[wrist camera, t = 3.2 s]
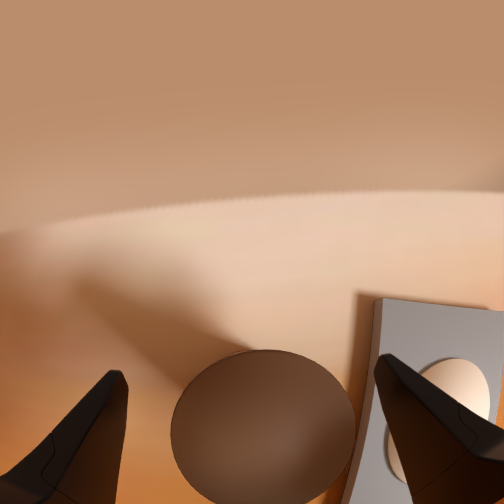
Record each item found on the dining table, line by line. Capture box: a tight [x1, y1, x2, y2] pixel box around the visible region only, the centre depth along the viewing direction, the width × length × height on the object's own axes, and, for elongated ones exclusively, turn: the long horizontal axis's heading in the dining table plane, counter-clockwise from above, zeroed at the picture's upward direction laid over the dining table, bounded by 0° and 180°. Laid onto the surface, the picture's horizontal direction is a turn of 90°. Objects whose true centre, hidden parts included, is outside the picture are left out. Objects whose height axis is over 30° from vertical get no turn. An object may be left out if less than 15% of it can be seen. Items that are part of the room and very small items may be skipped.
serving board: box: [340, 298, 504, 504], centre depth 14 cm, size 16×12×2 cm
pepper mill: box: [170, 350, 356, 504], centre depth 11 cm, size 4×4×10 cm
